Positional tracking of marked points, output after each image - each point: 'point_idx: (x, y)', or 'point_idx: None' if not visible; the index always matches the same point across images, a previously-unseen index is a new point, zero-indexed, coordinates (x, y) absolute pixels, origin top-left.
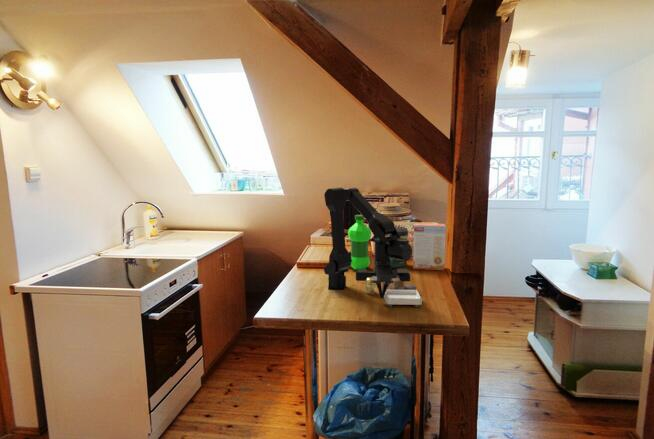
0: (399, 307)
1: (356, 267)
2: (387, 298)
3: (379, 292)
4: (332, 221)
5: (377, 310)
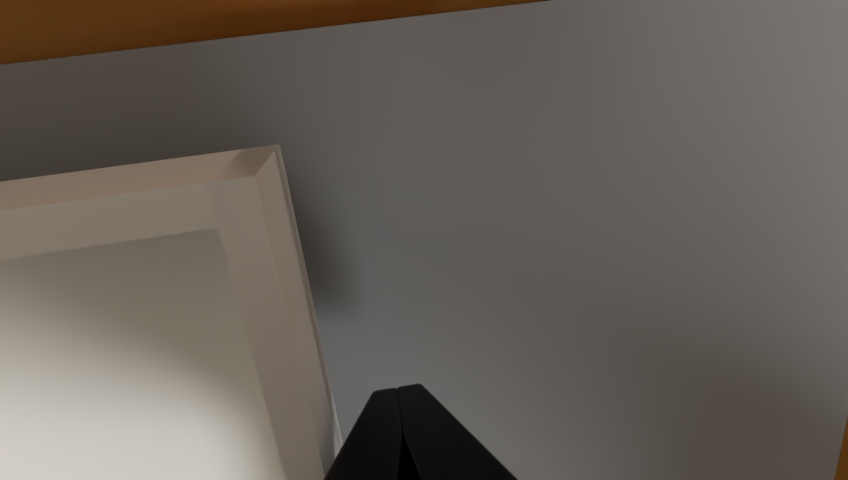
0: None
1: None
2: (222, 202)
3: (492, 461)
4: None
5: (463, 7)
